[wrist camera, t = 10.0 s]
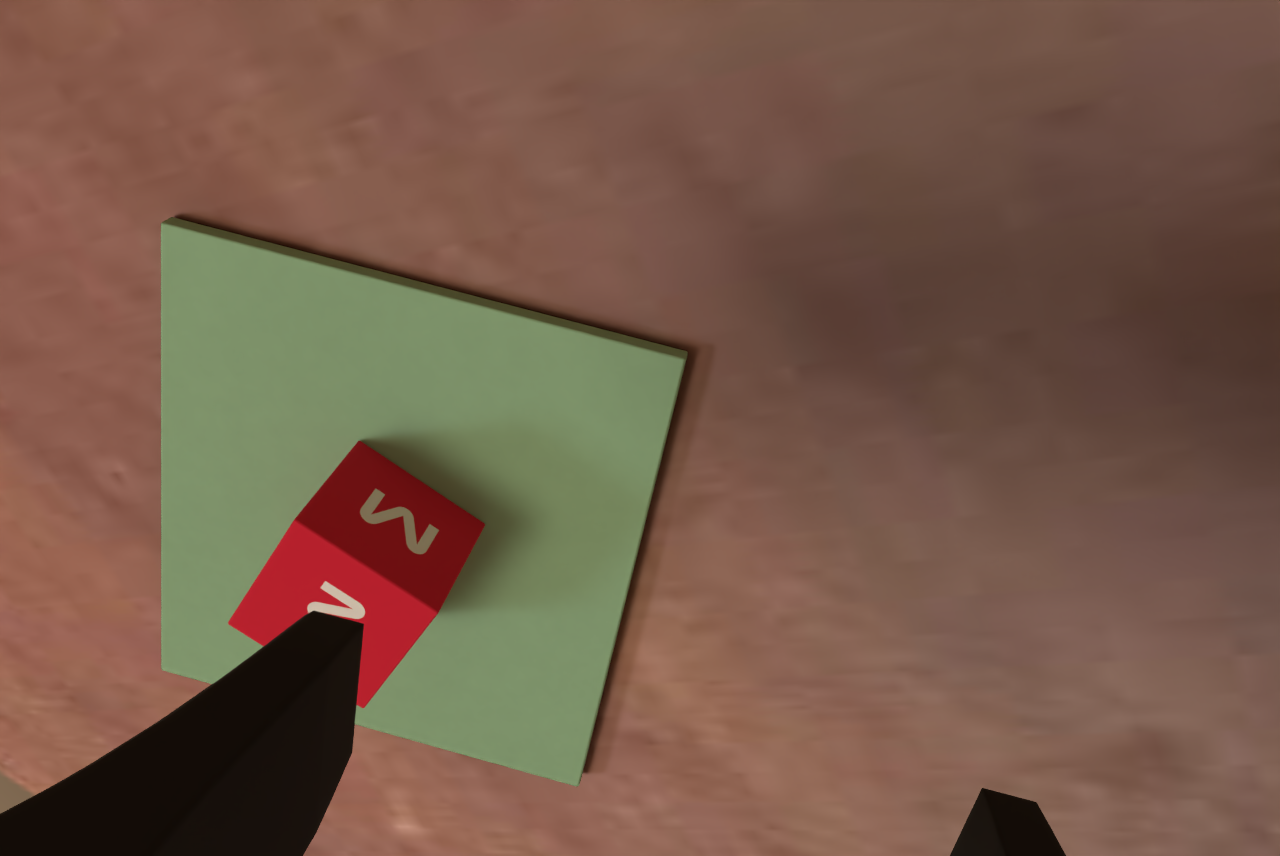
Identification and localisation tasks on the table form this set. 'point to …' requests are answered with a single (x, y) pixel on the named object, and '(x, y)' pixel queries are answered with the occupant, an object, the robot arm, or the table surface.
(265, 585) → the red letter cube
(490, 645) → the green square board
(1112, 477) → the table surface
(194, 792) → the robot arm
